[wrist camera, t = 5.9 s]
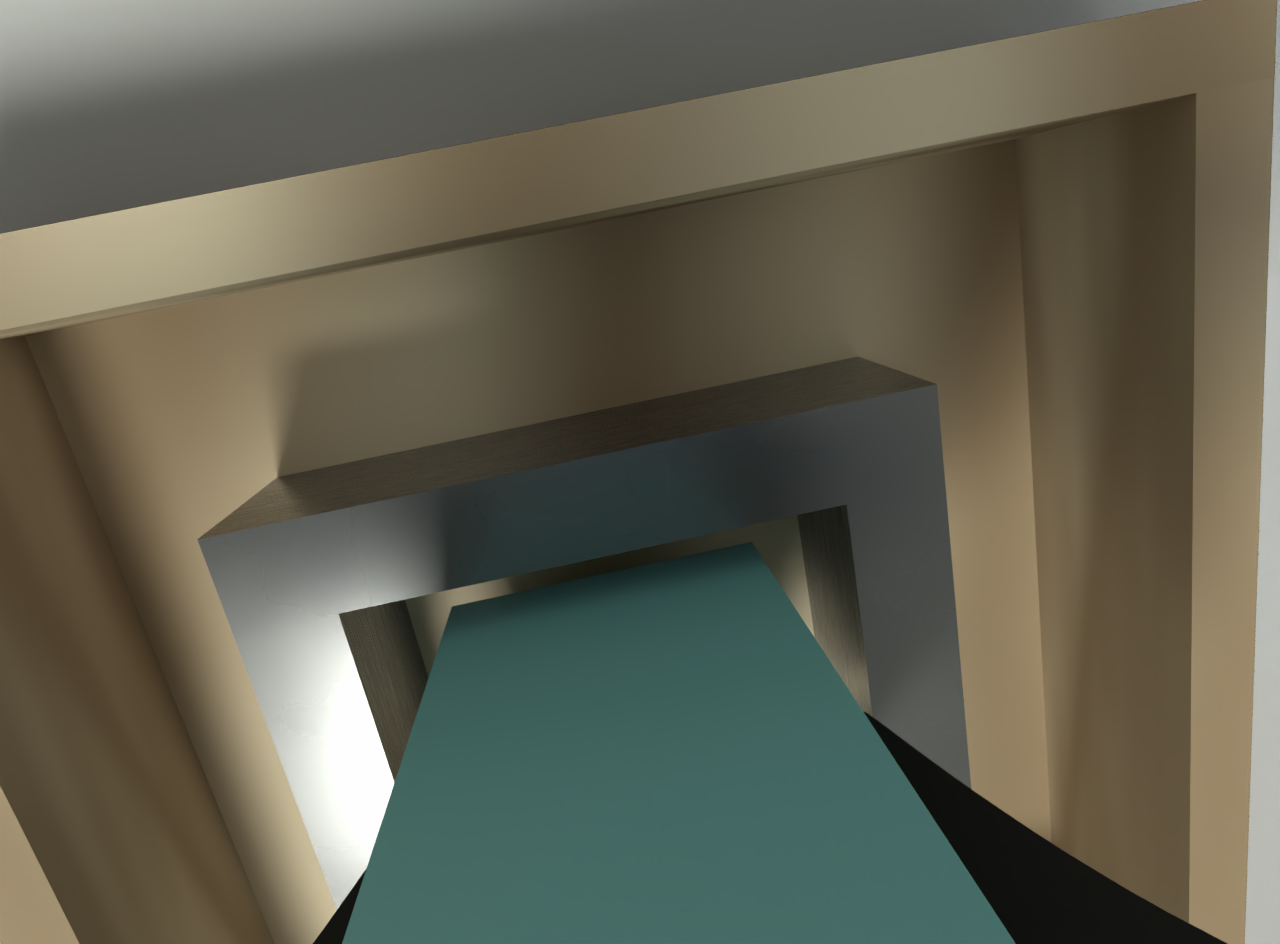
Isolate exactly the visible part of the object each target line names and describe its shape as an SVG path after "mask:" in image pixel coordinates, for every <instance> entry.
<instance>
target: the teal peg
mask: <svg viewBox="0 0 1280 944" xmlns="http://www.w3.org/2000/svg"><path fill="white" fill-rule="evenodd" d="M342 944H1016V943H1015V942H1014V940H1013V939H1012V937H1011V936H1010V934H1009V933H1008V931H1007V930H1006V928H1005V927H1004V925H1003V924H1002V922H1001V921H1000V919H999V918H998V916H997V915H996V913H995V912H994V910H993V908H992V907H991V905H990V904H989V902H988V901H987V899H986V898H985V896H984V895H983V893H982V892H981V890H980V889H979V887H978V886H977V884H976V883H975V881H974V880H973V878H972V877H971V875H970V873H969V872H968V870H967V869H966V867H965V866H964V864H963V863H962V861H961V860H960V858H959V857H958V855H957V854H956V852H955V851H954V849H953V848H952V846H951V845H950V843H949V841H948V840H947V838H946V837H945V835H944V834H943V832H942V831H941V829H940V828H939V826H938V825H937V823H936V822H935V820H934V819H933V817H932V816H931V814H930V813H929V811H928V810H927V808H926V806H925V805H924V803H923V802H922V800H921V799H920V797H919V796H918V794H917V793H916V791H915V790H914V788H913V787H912V785H911V784H910V782H909V781H908V779H907V778H906V776H905V775H904V773H903V771H902V770H901V768H900V767H899V765H898V764H897V762H896V761H895V759H894V758H893V756H892V755H891V753H890V752H889V750H888V749H887V747H886V746H885V744H884V743H883V741H882V739H881V738H880V736H879V735H878V733H877V732H876V730H875V729H874V727H873V726H872V724H871V723H870V721H869V720H868V718H867V717H866V715H865V714H864V712H863V711H862V709H861V708H860V706H859V704H858V703H857V701H856V700H855V698H854V697H853V695H852V694H851V692H850V691H849V689H848V688H847V686H846V685H845V683H844V682H843V680H842V679H841V677H840V676H839V674H838V673H837V671H836V669H835V668H834V666H833V665H832V663H831V662H830V660H829V659H828V657H827V656H826V654H825V653H824V651H823V650H822V648H821V647H820V645H819V644H818V642H817V641H816V639H815V637H814V636H813V634H812V633H811V631H810V630H809V628H808V627H807V625H806V624H805V622H804V621H803V619H802V618H801V616H800V615H799V613H798V612H797V610H796V609H795V607H794V606H793V604H792V602H791V601H790V599H789V598H788V596H787V595H786V593H785V592H784V590H783V589H782V587H781V586H780V584H779V583H778V581H777V580H776V578H775V577H774V575H773V574H772V572H771V571H770V569H769V567H768V566H767V564H766V563H765V561H764V560H763V558H762V557H761V555H760V554H759V552H758V551H757V549H756V548H755V546H754V545H753V543H752V542H748V543H744V544H739V545H735V546H730V547H725V548H721V549H716V550H711V551H707V552H702V553H697V554H693V555H688V556H684V557H679V558H674V559H670V560H665V561H660V562H656V563H651V564H646V565H642V566H637V567H633V568H628V569H623V570H619V571H614V572H609V573H605V574H600V575H596V576H591V577H586V578H582V579H577V580H572V581H568V582H563V583H558V584H554V585H549V586H545V587H540V588H535V589H531V590H526V591H521V592H517V593H512V594H507V595H503V596H498V597H494V598H489V599H484V600H480V601H475V602H470V603H466V604H461V605H457V606H452V608H451V611H450V614H449V617H448V620H447V623H446V626H445V629H444V632H443V635H442V638H441V641H440V644H439V648H438V651H437V654H436V657H435V660H434V663H433V666H432V669H431V672H430V675H429V678H428V681H427V684H426V687H425V691H424V694H423V697H422V700H421V703H420V706H419V709H418V712H417V715H416V718H415V721H414V724H413V727H412V730H411V734H410V737H409V740H408V743H407V746H406V749H405V752H404V755H403V758H402V761H401V764H400V767H399V770H398V773H397V777H396V780H395V783H394V786H393V789H392V792H391V795H390V798H389V801H388V804H387V807H386V810H385V813H384V816H383V820H382V823H381V826H380V829H379V832H378V835H377V838H376V841H375V844H374V847H373V850H372V853H371V856H370V860H369V863H368V866H367V869H366V872H365V875H364V878H363V881H362V884H361V887H360V890H359V893H358V896H357V899H356V903H355V906H354V909H353V912H352V915H351V918H350V921H349V924H348V927H347V930H346V933H345V936H344V939H343V942H342Z"/></svg>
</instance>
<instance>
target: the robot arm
mask: <svg viewBox="0 0 1280 944" xmlns="http://www.w3.org/2000/svg"><path fill="white" fill-rule="evenodd" d="M864 714H865V715H866V717H867V718H868V720H869V721H870V723H871V724H872V726H873V727H874V729H875V730H876V732H877V733H878V735H879V736H880V738H881V739H882V741H883V743H884V744H885V746H886V747H887V749H888V750H889V752H890V753H891V755H892V756H893V758H894V759H895V761H896V762H897V764H898V765H899V767H900V768H901V770H902V771H903V773H904V775H905V776H906V778H907V779H908V781H909V782H910V784H911V785H912V787H913V788H914V790H915V791H916V793H917V794H918V796H919V797H920V799H921V800H922V802H923V803H924V805H925V806H926V808H927V810H928V811H929V813H930V814H931V816H932V817H933V819H934V820H935V822H936V823H937V825H938V826H939V828H940V829H941V831H942V832H943V834H944V835H945V837H946V838H947V840H948V841H949V843H950V845H951V846H952V848H953V849H954V851H955V852H956V854H957V855H958V857H959V858H960V860H961V861H962V863H963V864H964V866H965V867H966V869H967V870H968V872H969V873H970V875H971V877H972V878H973V880H974V881H975V883H976V884H977V886H978V887H979V889H980V890H981V892H982V893H983V895H984V896H985V898H986V899H987V901H988V902H989V904H990V905H991V907H992V908H993V910H994V912H995V913H996V915H997V916H998V918H999V919H1000V921H1001V922H1002V924H1003V925H1004V927H1005V928H1006V930H1007V931H1008V933H1009V934H1010V936H1011V937H1012V939H1013V940H1014V942H1015V943H1016V944H1227V943H1226V942H1224V941H1222V940H1220V939H1218V938H1216V937H1214V936H1212V935H1210V934H1208V933H1207V932H1205V931H1203V930H1201V929H1199V928H1197V927H1195V926H1193V925H1191V924H1189V923H1187V922H1186V921H1184V920H1182V919H1180V918H1178V917H1176V916H1174V915H1172V914H1170V913H1168V912H1167V911H1165V910H1163V909H1161V908H1160V907H1158V906H1156V905H1154V904H1152V903H1151V902H1149V901H1147V900H1145V899H1144V898H1142V897H1140V896H1138V895H1136V894H1135V893H1133V892H1131V891H1129V890H1128V889H1126V888H1124V887H1122V886H1121V885H1119V884H1117V883H1116V882H1114V881H1113V880H1111V879H1109V878H1108V877H1106V876H1104V875H1103V874H1101V873H1099V872H1098V871H1096V870H1094V869H1093V868H1091V867H1089V866H1088V865H1086V864H1084V863H1083V862H1081V861H1079V860H1078V859H1076V858H1074V857H1073V856H1071V855H1070V854H1068V853H1066V852H1065V851H1063V850H1062V849H1060V848H1059V847H1057V846H1055V845H1054V844H1052V843H1051V842H1049V841H1048V840H1046V839H1045V838H1043V837H1041V836H1040V835H1038V834H1037V833H1035V832H1034V831H1032V830H1031V829H1029V828H1028V827H1026V826H1025V825H1023V824H1022V823H1020V822H1019V821H1017V820H1016V819H1015V818H1013V817H1012V816H1010V815H1009V814H1007V813H1006V812H1004V811H1003V810H1001V809H1000V808H998V807H997V806H995V805H994V804H992V803H991V802H989V801H988V800H986V799H985V798H983V797H982V796H980V795H979V794H978V793H976V792H975V791H973V790H972V789H971V788H969V787H968V786H966V785H965V784H963V783H962V782H961V781H959V780H958V779H956V778H955V777H954V776H952V775H951V774H950V773H948V772H947V771H945V770H944V769H943V768H941V767H940V766H939V765H937V764H936V763H934V762H933V761H932V760H930V759H929V758H928V757H926V756H925V755H923V754H922V753H921V752H919V751H918V750H917V749H915V748H914V747H913V746H911V745H910V744H909V743H907V742H906V741H905V740H903V739H902V738H901V737H899V736H898V735H897V734H895V733H894V732H893V731H891V730H890V729H889V728H887V727H886V726H885V725H883V724H882V723H881V722H879V721H878V720H876V719H875V718H874V717H872V716H871V715H869V714H868V713H866V712H864ZM366 869H367V868H366ZM365 872H366V870H365V871H364V872H363V874H362V875H361V877H360V878H359V880H358V881H357V882H356V884H355V885H354V887H353V888H352V890H351V891H350V892H349V894H348V895H347V897H346V898H345V899H344V901H343V902H342V904H341V905H340V906H339V908H338V909H337V911H336V912H335V913H334V915H333V916H332V918H331V919H330V921H329V922H328V923H327V925H326V926H325V928H324V929H323V930H322V932H321V933H320V934H319V936H318V937H317V938H316V940H315V941H314V943H313V944H342V942H343V939H344V936H345V933H346V930H347V927H348V924H349V921H350V918H351V915H352V912H353V909H354V906H355V903H356V899H357V896H358V893H359V890H360V887H361V884H362V881H363V878H364V875H365Z"/></svg>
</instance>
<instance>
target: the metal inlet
mask: <svg viewBox="0 0 1280 944" xmlns="http://www.w3.org/2000/svg"><path fill="white" fill-rule="evenodd" d="M795 515H797V518H798V525H799V532H800V539H801V546H802V553H803V560H804V567H805V574H806V581H807V588H808V595H809V602H810V609H811V616H812V623H813V630H814V636H815V639H816V641H817V642H818V644H819V645H820V647H821V648H822V650H823V651H824V653H825V654H826V656H827V657H828V659H829V660H830V662H831V663H832V665H833V666H834V668H835V669H836V671H837V673H838V674H839V676H840V677H841V679H842V680H843V682H844V683H845V685H846V686H847V688H848V689H849V691H850V692H851V694H852V695H853V697H854V698H855V700H856V701H857V703H858V704H859V706H860V708H861V709H862V711H863V712H866V713H868V714H869V715H871V716H872V717H874V718H875V719H876V720H878V721H879V722H881V723H882V724H883V725H885V726H886V727H887V728H889V729H890V730H891V731H893V732H894V733H895V734H897V735H898V736H899V737H901V738H902V739H903V740H905V741H906V742H907V743H909V744H910V745H911V746H913V747H914V748H915V749H917V750H918V751H919V752H921V753H922V754H923V755H925V756H926V757H928V758H929V759H930V760H932V761H933V762H934V763H936V764H937V765H939V766H940V767H941V768H943V769H944V770H945V771H947V772H948V773H950V774H951V775H952V776H954V777H955V778H956V779H958V780H959V781H961V782H962V783H963V784H965V785H966V786H968V787H969V788H971V779H970V767H969V755H968V744H967V732H966V720H965V708H964V697H963V685H962V673H961V661H960V650H959V638H958V626H957V615H956V603H955V591H954V579H953V568H952V556H951V544H950V532H949V521H948V509H947V497H946V485H945V474H944V462H943V450H942V438H941V427H940V415H939V403H938V392H937V384H935V383H933V382H930V381H927V380H924V379H921V378H918V377H915V376H912V375H910V374H907V373H904V372H901V371H898V370H895V369H892V368H889V367H887V366H884V365H881V364H878V363H875V362H872V361H869V360H866V359H864V358H861V357H853V358H848V359H843V360H838V361H834V362H829V363H824V364H819V365H814V366H810V367H805V368H800V369H795V370H790V371H786V372H781V373H776V374H771V375H766V376H762V377H757V378H752V379H747V380H742V381H737V382H733V383H728V384H723V385H718V386H713V387H709V388H704V389H699V390H694V391H689V392H685V393H680V394H675V395H670V396H665V397H661V398H656V399H651V400H646V401H641V402H637V403H632V404H627V405H622V406H617V407H612V408H608V409H603V410H598V411H593V412H588V413H584V414H579V415H574V416H569V417H564V418H560V419H555V420H550V421H545V422H540V423H536V424H531V425H526V426H521V427H516V428H512V429H507V430H502V431H497V432H492V433H487V434H483V435H478V436H473V437H468V438H463V439H459V440H454V441H449V442H444V443H439V444H435V445H430V446H425V447H420V448H415V449H411V450H406V451H401V452H396V453H391V454H387V455H382V456H377V457H372V458H367V459H363V460H358V461H353V462H348V463H343V464H338V465H334V466H329V467H324V468H319V469H314V470H310V471H305V472H300V473H295V474H290V475H286V476H281V477H277V478H276V479H274V480H273V481H272V482H271V483H269V484H268V485H267V486H265V487H264V488H263V489H262V490H260V491H259V492H258V493H256V494H255V495H254V496H253V497H251V498H250V499H249V500H247V501H246V502H245V503H244V504H242V505H241V506H240V507H238V508H237V509H236V510H234V511H233V512H232V513H231V514H229V515H228V516H227V517H225V518H224V519H223V520H222V521H220V522H219V523H218V524H216V525H215V526H214V527H213V528H211V529H210V530H209V531H207V532H206V533H205V534H204V535H202V536H201V537H200V538H198V539H197V540H198V543H199V545H200V548H201V551H202V553H203V556H204V559H205V561H206V564H207V567H208V569H209V572H210V575H211V577H212V580H213V583H214V585H215V588H216V591H217V593H218V596H219V599H220V601H221V604H222V606H223V609H224V612H225V614H226V617H227V620H228V622H229V625H230V628H231V630H232V633H233V636H234V638H235V641H236V644H237V646H238V649H239V652H240V654H241V657H242V660H243V662H244V665H245V667H246V670H247V673H248V675H249V678H250V681H251V683H252V686H253V689H254V691H255V694H256V697H257V699H258V702H259V705H260V707H261V710H262V713H263V715H264V718H265V721H266V723H267V726H268V728H269V731H270V734H271V736H272V739H273V742H274V744H275V747H276V750H277V752H278V755H279V758H280V760H281V763H282V766H283V768H284V771H285V774H286V776H287V779H288V782H289V784H290V787H291V789H292V792H293V795H294V797H295V800H296V803H297V805H298V808H299V811H300V813H301V816H302V819H303V821H304V824H305V827H306V829H307V832H308V835H309V837H310V840H311V843H312V845H313V848H314V850H315V853H316V856H317V858H318V861H319V864H320V866H321V869H322V872H323V874H324V877H325V880H326V882H327V885H328V888H329V890H330V893H331V896H332V898H333V901H334V904H335V906H336V909H338V908H339V906H340V905H341V904H342V902H343V901H344V899H345V898H346V897H347V895H348V894H349V892H350V891H351V890H352V888H353V887H354V885H355V884H356V882H357V881H358V880H359V878H360V877H361V875H362V874H363V872H364V871H365V870H366V868H367V866H368V863H369V860H370V856H371V853H372V850H373V847H374V844H375V841H376V838H377V835H378V832H379V829H380V826H381V823H382V820H383V816H384V813H385V810H386V807H387V804H388V801H389V798H390V795H391V792H392V789H393V786H394V783H395V780H396V777H397V773H398V770H399V767H400V764H401V761H402V758H403V755H404V752H405V749H406V746H407V743H408V740H409V737H410V734H411V730H412V727H413V724H414V721H415V718H416V715H417V712H418V709H419V706H420V703H421V700H422V697H423V694H424V691H425V687H426V684H427V681H428V674H427V671H426V668H425V665H424V661H423V658H422V655H421V651H420V648H419V645H418V641H417V638H416V635H415V632H414V628H413V625H412V622H411V618H410V615H409V612H408V609H407V605H406V602H405V599H409V598H414V597H419V596H423V595H428V594H433V593H437V592H442V591H447V590H451V589H456V588H460V587H465V586H470V585H474V584H479V583H484V582H488V581H493V580H498V579H502V578H507V577H512V576H516V575H521V574H526V573H530V572H535V571H540V570H544V569H549V568H553V567H558V566H563V565H567V564H572V563H577V562H581V561H586V560H591V559H595V558H600V557H605V556H609V555H614V554H619V553H623V552H628V551H632V550H637V549H642V548H646V547H651V546H656V545H660V544H665V543H670V542H674V541H679V540H684V539H688V538H693V537H698V536H702V535H707V534H712V533H716V532H721V531H725V530H730V529H735V528H739V527H744V526H749V525H753V524H758V523H763V522H767V521H772V520H777V519H781V518H786V517H791V516H795Z"/></svg>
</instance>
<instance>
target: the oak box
mask: <svg viewBox="0 0 1280 944" xmlns="http://www.w3.org/2000/svg"><path fill="white" fill-rule="evenodd" d="M1276 17H1277V0H1203V1H1198V2H1193V3H1187V4H1182V5H1177V6H1172V7H1167V8H1162V9H1156V10H1151V11H1146V12H1141V13H1136V14H1131V15H1125V16H1120V17H1115V18H1110V19H1105V20H1100V21H1095V22H1089V23H1084V24H1079V25H1074V26H1069V27H1064V28H1058V29H1053V30H1048V31H1043V32H1038V33H1033V34H1028V35H1022V36H1017V37H1012V38H1007V39H1002V40H997V41H991V42H986V43H981V44H976V45H971V46H966V47H961V48H955V49H950V50H945V51H940V52H935V53H930V54H924V55H919V56H914V57H909V58H904V59H899V60H893V61H888V62H883V63H878V64H873V65H868V66H863V67H857V68H852V69H847V70H842V71H837V72H832V73H826V74H821V75H816V76H811V77H806V78H801V79H796V80H790V81H785V82H780V83H775V84H770V85H765V86H759V87H754V88H749V89H744V90H739V91H734V92H728V93H723V94H718V95H713V96H708V97H703V98H698V99H692V100H687V101H682V102H677V103H672V104H667V105H661V106H656V107H651V108H646V109H641V110H636V111H631V112H625V113H620V114H615V115H610V116H605V117H600V118H594V119H589V120H584V121H579V122H574V123H569V124H564V125H558V126H553V127H548V128H543V129H538V130H533V131H527V132H522V133H517V134H512V135H507V136H502V137H496V138H491V139H486V140H481V141H476V142H471V143H466V144H460V145H455V146H450V147H445V148H440V149H435V150H429V151H424V152H419V153H414V154H409V155H404V156H399V157H393V158H388V159H383V160H378V161H373V162H368V163H362V164H357V165H352V166H347V167H342V168H337V169H331V170H326V171H321V172H316V173H311V174H306V175H301V176H295V177H290V178H285V179H280V180H275V181H270V182H264V183H259V184H254V185H249V186H244V187H239V188H234V189H228V190H223V191H218V192H213V193H208V194H203V195H197V196H192V197H187V198H182V199H177V200H172V201H166V202H161V203H156V204H151V205H146V206H141V207H136V208H130V209H125V210H120V211H115V212H110V213H105V214H99V215H94V216H89V217H84V218H79V219H74V220H69V221H63V222H58V223H53V224H48V225H43V226H38V227H32V228H27V229H22V230H17V231H12V232H7V233H2V234H0V944H313V943H314V941H315V940H316V938H317V937H318V936H319V934H320V933H321V932H322V930H323V929H324V928H325V926H326V925H327V923H328V922H329V921H330V919H331V918H332V916H333V915H334V913H335V912H336V911H337V909H336V906H335V904H334V901H333V898H332V896H331V893H330V890H329V888H328V885H327V882H326V880H325V877H324V874H323V872H322V869H321V866H320V864H319V861H318V858H317V856H316V853H315V850H314V848H313V845H312V843H311V840H310V837H309V835H308V832H307V829H306V827H305V824H304V821H303V819H302V816H301V813H300V811H299V808H298V805H297V803H296V800H295V797H294V795H293V792H292V789H291V787H290V784H289V782H288V779H287V776H286V774H285V771H284V768H283V766H282V763H281V760H280V758H279V755H278V752H277V750H276V747H275V744H274V742H273V739H272V736H271V734H270V731H269V728H268V726H267V723H266V721H265V718H264V715H263V713H262V710H261V707H260V705H259V702H258V699H257V697H256V694H255V691H254V689H253V686H252V683H251V681H250V678H249V675H248V673H247V670H246V667H245V665H244V662H243V660H242V657H241V654H240V652H239V649H238V646H237V644H236V641H235V638H234V636H233V633H232V630H231V628H230V625H229V622H228V620H227V617H226V614H225V612H224V609H223V606H222V604H221V601H220V599H219V596H218V593H217V591H216V588H215V585H214V583H213V580H212V577H211V575H210V572H209V569H208V567H207V564H206V561H205V559H204V556H203V553H202V551H201V548H200V545H199V543H198V540H197V539H198V538H200V537H201V536H202V535H204V534H205V533H206V532H207V531H209V530H210V529H211V528H213V527H214V526H215V525H216V524H218V523H219V522H220V521H222V520H223V519H224V518H225V517H227V516H228V515H229V514H231V513H232V512H233V511H234V510H236V509H237V508H238V507H240V506H241V505H242V504H244V503H245V502H246V501H247V500H249V499H250V498H251V497H253V496H254V495H255V494H256V493H258V492H259V491H260V490H262V489H263V488H264V487H265V486H267V485H268V484H269V483H271V482H272V481H273V480H274V479H276V478H277V477H281V476H286V475H290V474H295V473H300V472H305V471H310V470H314V469H319V468H324V467H329V466H334V465H338V464H343V463H348V462H353V461H358V460H363V459H367V458H372V457H377V456H382V455H387V454H391V453H396V452H401V451H406V450H411V449H415V448H420V447H425V446H430V445H435V444H439V443H444V442H449V441H454V440H459V439H463V438H468V437H473V436H478V435H483V434H487V433H492V432H497V431H502V430H507V429H512V428H516V427H521V426H526V425H531V424H536V423H540V422H545V421H550V420H555V419H560V418H564V417H569V416H574V415H579V414H584V413H588V412H593V411H598V410H603V409H608V408H612V407H617V406H622V405H627V404H632V403H637V402H641V401H646V400H651V399H656V398H661V397H665V396H670V395H675V394H680V393H685V392H689V391H694V390H699V389H704V388H709V387H713V386H718V385H723V384H728V383H733V382H737V381H742V380H747V379H752V378H757V377H762V376H766V375H771V374H776V373H781V372H786V371H790V370H795V369H800V368H805V367H810V366H814V365H819V364H824V363H829V362H834V361H838V360H843V359H848V358H853V357H861V358H864V359H866V360H869V361H872V362H875V363H878V364H881V365H884V366H887V367H889V368H892V369H895V370H898V371H901V372H904V373H907V374H910V375H912V376H915V377H918V378H921V379H924V380H927V381H930V382H933V383H935V384H937V392H938V403H939V415H940V427H941V438H942V450H943V462H944V474H945V485H946V497H947V509H948V521H949V532H950V544H951V556H952V568H953V579H954V591H955V603H956V615H957V626H958V638H959V650H960V661H961V673H962V685H963V697H964V708H965V720H966V732H967V744H968V755H969V767H970V779H971V789H972V790H973V791H975V792H976V793H978V794H979V795H980V796H982V797H983V798H985V799H986V800H988V801H989V802H991V803H992V804H994V805H995V806H997V807H998V808H1000V809H1001V810H1003V811H1004V812H1006V813H1007V814H1009V815H1010V816H1012V817H1013V818H1015V819H1016V820H1017V821H1019V822H1020V823H1022V824H1023V825H1025V826H1026V827H1028V828H1029V829H1031V830H1032V831H1034V832H1035V833H1037V834H1038V835H1040V836H1041V837H1043V838H1045V839H1046V840H1048V841H1049V842H1051V843H1052V844H1054V845H1055V846H1057V847H1059V848H1060V849H1062V850H1063V851H1065V852H1066V853H1068V854H1070V855H1071V856H1073V857H1074V858H1076V859H1078V860H1079V861H1081V862H1083V863H1084V864H1086V865H1088V866H1089V867H1091V868H1093V869H1094V870H1096V871H1098V872H1099V873H1101V874H1103V875H1104V876H1106V877H1108V878H1109V879H1111V880H1113V881H1114V882H1116V883H1117V884H1119V885H1121V886H1122V887H1124V888H1126V889H1128V890H1129V891H1131V892H1133V893H1135V894H1136V895H1138V896H1140V897H1142V898H1144V899H1145V900H1147V901H1149V902H1151V903H1152V904H1154V905H1156V906H1158V907H1160V908H1161V909H1163V910H1165V911H1167V912H1168V913H1170V914H1172V915H1174V916H1176V917H1178V918H1180V919H1182V920H1184V921H1186V922H1187V923H1189V924H1191V925H1193V926H1195V927H1197V928H1199V929H1201V930H1203V931H1205V932H1207V933H1208V934H1210V935H1212V936H1214V937H1216V938H1218V939H1220V940H1222V941H1224V942H1226V943H1227V944H1245V919H1246V890H1247V861H1248V832H1249V803H1250V774H1251V745H1252V715H1253V686H1254V657H1255V628H1256V599H1257V570H1258V541H1259V512H1260V483H1261V454H1262V425H1263V395H1264V366H1265V337H1266V308H1267V279H1268V250H1269V221H1270V192H1271V163H1272V134H1273V105H1274V75H1275V46H1276ZM748 542H752V543H753V545H754V546H755V548H756V549H757V551H758V552H759V554H760V555H761V557H762V558H763V560H764V561H765V563H766V564H767V566H768V567H769V569H770V571H771V572H772V574H773V575H774V577H775V578H776V580H777V581H778V583H779V584H780V586H781V587H782V589H783V590H784V592H785V593H786V595H787V596H788V598H789V599H790V601H791V602H792V604H793V606H794V607H795V609H796V610H797V612H798V613H799V615H800V616H801V618H802V619H803V621H804V622H805V624H806V625H807V627H808V628H809V630H810V631H811V633H812V634H813V636H814V630H813V623H812V616H811V609H810V602H809V595H808V588H807V581H806V574H805V567H804V560H803V553H802V546H801V539H800V532H799V525H798V518H797V515H795V516H791V517H786V518H781V519H777V520H772V521H767V522H763V523H758V524H753V525H749V526H744V527H739V528H735V529H730V530H725V531H721V532H716V533H712V534H707V535H702V536H698V537H693V538H688V539H684V540H679V541H674V542H670V543H665V544H660V545H656V546H651V547H646V548H642V549H637V550H632V551H628V552H623V553H619V554H614V555H609V556H605V557H600V558H595V559H591V560H586V561H581V562H577V563H572V564H567V565H563V566H558V567H553V568H549V569H544V570H540V571H535V572H530V573H526V574H521V575H516V576H512V577H507V578H502V579H498V580H493V581H488V582H484V583H479V584H474V585H470V586H465V587H460V588H456V589H451V590H447V591H442V592H437V593H433V594H428V595H423V596H419V597H414V598H409V599H405V602H406V605H407V609H408V612H409V615H410V618H411V622H412V625H413V628H414V632H415V635H416V638H417V641H418V645H419V648H420V651H421V655H422V658H423V661H424V665H425V668H426V671H427V674H428V678H429V675H430V672H431V669H432V666H433V663H434V660H435V657H436V654H437V651H438V648H439V644H440V641H441V638H442V635H443V632H444V629H445V626H446V623H447V620H448V617H449V614H450V611H451V608H452V606H457V605H461V604H466V603H470V602H475V601H480V600H484V599H489V598H494V597H498V596H503V595H507V594H512V593H517V592H521V591H526V590H531V589H535V588H540V587H545V586H549V585H554V584H558V583H563V582H568V581H572V580H577V579H582V578H586V577H591V576H596V575H600V574H605V573H609V572H614V571H619V570H623V569H628V568H633V567H637V566H642V565H646V564H651V563H656V562H660V561H665V560H670V559H674V558H679V557H684V556H688V555H693V554H697V553H702V552H707V551H711V550H716V549H721V548H725V547H730V546H735V545H739V544H744V543H748ZM814 637H815V636H814Z"/></svg>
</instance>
